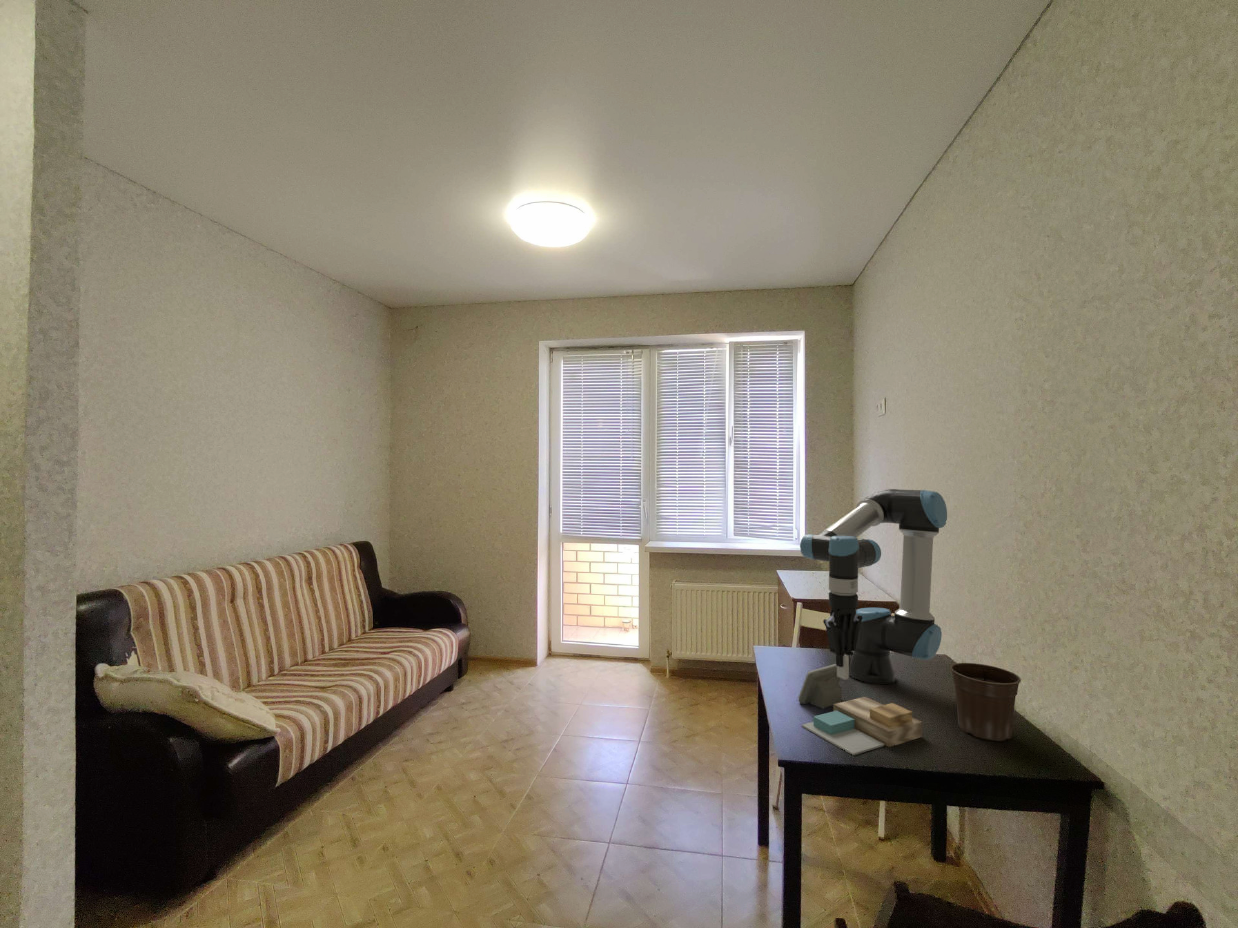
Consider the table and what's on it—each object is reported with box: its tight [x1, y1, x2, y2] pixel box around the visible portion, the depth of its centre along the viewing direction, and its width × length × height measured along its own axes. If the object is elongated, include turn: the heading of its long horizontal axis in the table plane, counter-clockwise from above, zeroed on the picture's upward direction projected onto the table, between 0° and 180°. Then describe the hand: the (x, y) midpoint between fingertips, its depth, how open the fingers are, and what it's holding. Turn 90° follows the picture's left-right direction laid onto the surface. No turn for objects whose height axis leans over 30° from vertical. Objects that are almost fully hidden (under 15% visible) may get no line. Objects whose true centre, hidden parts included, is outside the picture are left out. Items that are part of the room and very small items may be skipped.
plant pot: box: [949, 662, 1022, 742], centre depth 153 cm, size 16×16×16 cm
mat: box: [801, 721, 885, 756], centre depth 149 cm, size 12×17×1 cm
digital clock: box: [797, 663, 843, 709], centre depth 171 cm, size 16×9×11 cm, turn 112°
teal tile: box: [812, 711, 855, 735], centre depth 153 cm, size 9×6×2 cm, turn 117°
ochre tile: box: [870, 702, 913, 728], centre depth 150 cm, size 9×6×2 cm, turn 117°
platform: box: [832, 696, 923, 748], centre depth 154 cm, size 13×18×4 cm
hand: (842, 677), depth 155 cm, fingers closed
